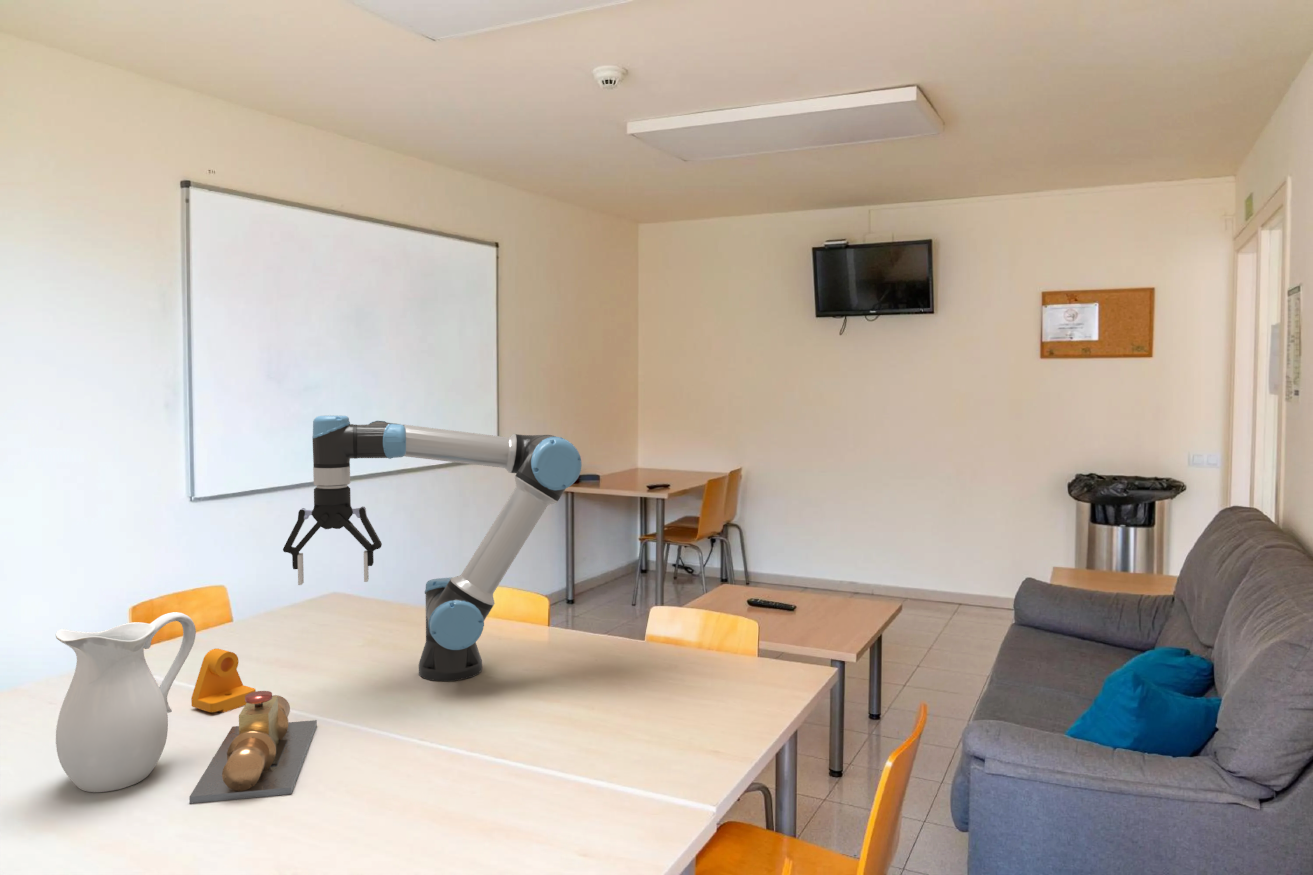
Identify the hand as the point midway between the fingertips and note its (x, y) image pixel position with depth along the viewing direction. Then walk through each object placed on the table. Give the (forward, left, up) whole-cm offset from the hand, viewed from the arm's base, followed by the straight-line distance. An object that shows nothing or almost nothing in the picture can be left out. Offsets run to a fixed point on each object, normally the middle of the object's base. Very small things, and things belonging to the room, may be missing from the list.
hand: (333, 582), depth 195 cm
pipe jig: (+10, +30, -27) cm, 41 cm away
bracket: (+23, -2, -27) cm, 35 cm away
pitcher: (+31, +30, -27) cm, 51 cm away
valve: (+10, +30, -25) cm, 40 cm away
